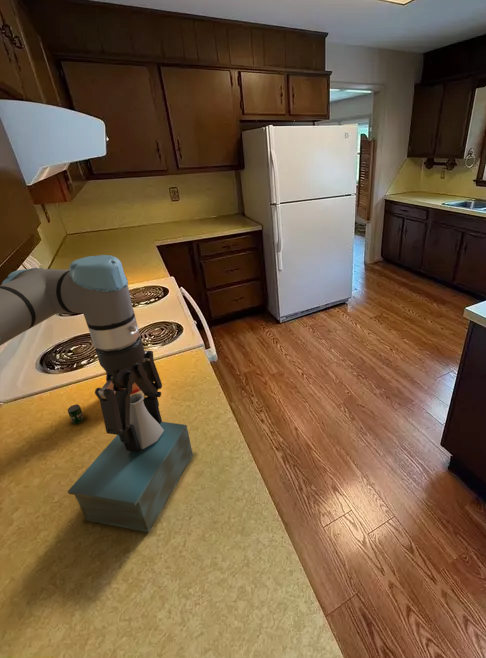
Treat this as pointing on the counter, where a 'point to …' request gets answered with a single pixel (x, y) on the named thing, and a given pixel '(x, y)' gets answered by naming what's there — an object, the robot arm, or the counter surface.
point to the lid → (126, 468)
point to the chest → (151, 499)
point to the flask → (143, 422)
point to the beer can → (75, 414)
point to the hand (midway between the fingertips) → (145, 435)
